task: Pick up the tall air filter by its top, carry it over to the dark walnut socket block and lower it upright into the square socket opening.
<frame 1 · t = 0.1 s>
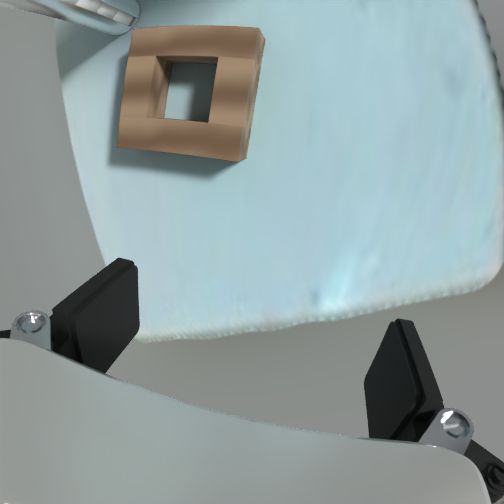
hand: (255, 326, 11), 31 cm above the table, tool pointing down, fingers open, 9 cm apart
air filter: (122, 17, 34), on the table
socket block: (195, 91, 37), on the table
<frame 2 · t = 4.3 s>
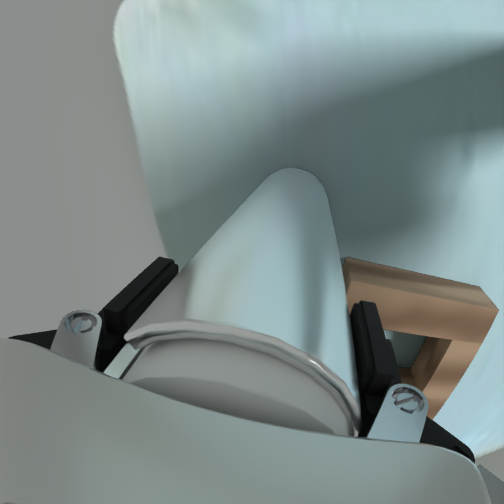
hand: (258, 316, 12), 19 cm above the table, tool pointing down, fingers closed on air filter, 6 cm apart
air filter: (292, 202, 29), on the table, touching gripper
socket block: (393, 337, 32), on the table
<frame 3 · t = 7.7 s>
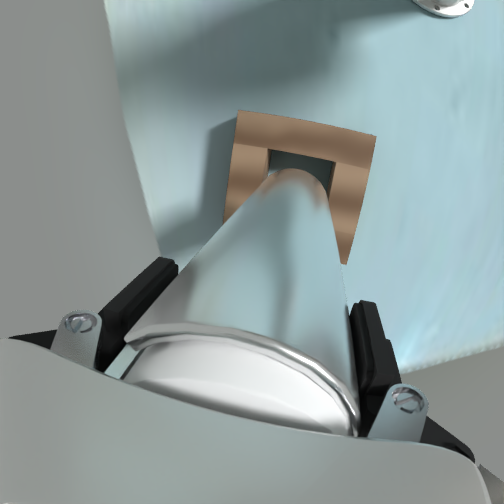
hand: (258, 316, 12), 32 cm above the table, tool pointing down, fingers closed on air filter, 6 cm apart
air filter: (292, 203, 29), point 13 cm above the table, touching gripper
socket block: (297, 181, 41), on the table
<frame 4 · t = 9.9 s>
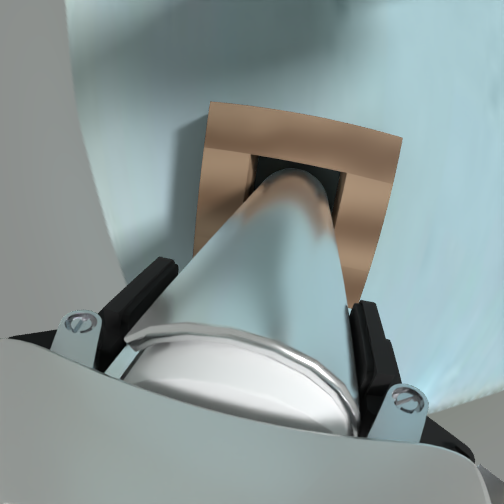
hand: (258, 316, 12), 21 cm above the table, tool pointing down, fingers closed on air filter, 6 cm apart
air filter: (292, 203, 29), point 2 cm above the table, touching gripper
socket block: (293, 197, 31), on the table
when the fingers open (20 cm above the table, at t = 11.6 s): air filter drops 1 cm, resting in socket block.
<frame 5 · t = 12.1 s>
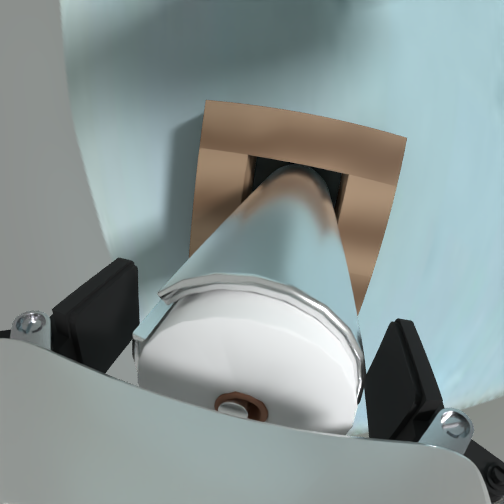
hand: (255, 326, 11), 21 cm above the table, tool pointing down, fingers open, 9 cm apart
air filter: (295, 197, 30), resting in socket block
socket block: (293, 199, 30), on the table
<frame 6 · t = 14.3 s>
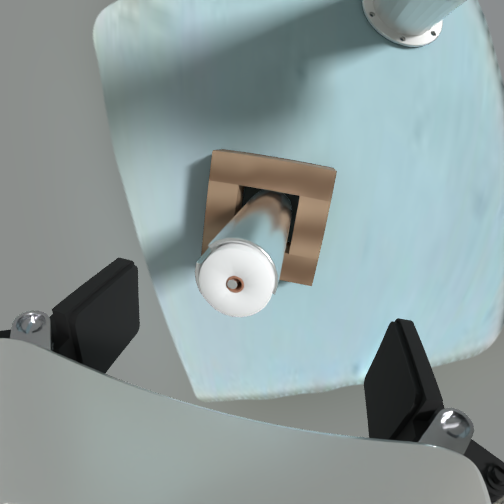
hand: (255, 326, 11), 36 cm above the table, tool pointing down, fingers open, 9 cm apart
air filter: (270, 210, 47), resting in socket block
socket block: (268, 211, 47), on the table
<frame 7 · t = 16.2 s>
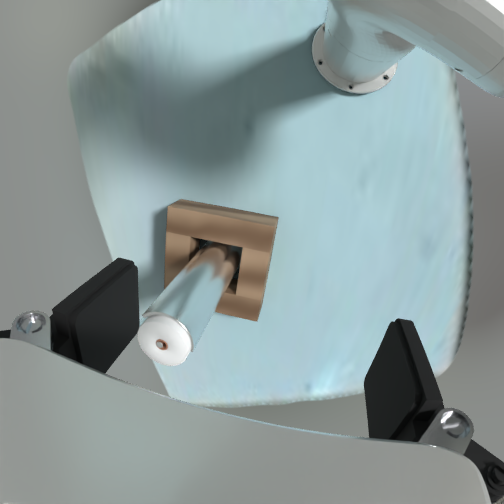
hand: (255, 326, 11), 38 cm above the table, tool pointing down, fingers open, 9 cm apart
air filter: (223, 252, 53), resting in socket block
socket block: (222, 254, 53), on the table
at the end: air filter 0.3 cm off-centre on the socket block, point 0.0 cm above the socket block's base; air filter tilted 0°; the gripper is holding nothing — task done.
